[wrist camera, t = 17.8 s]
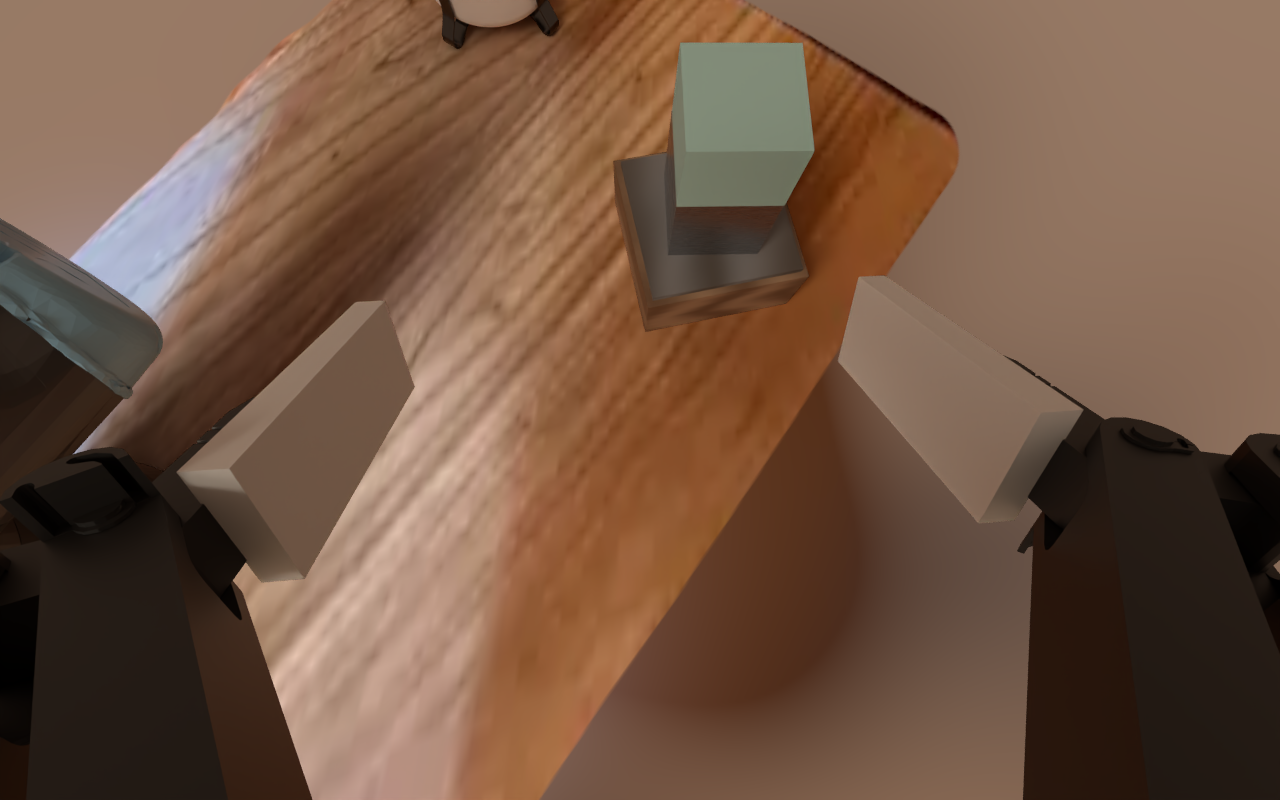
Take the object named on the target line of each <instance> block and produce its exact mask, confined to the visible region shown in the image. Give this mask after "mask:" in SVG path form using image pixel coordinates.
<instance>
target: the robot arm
mask: <svg viewBox="0 0 1280 800" xmlns="http://www.w3.org/2000/svg"><path fill="white" fill-rule="evenodd" d="M162 345H163V338H162V334H161V331H160V329H159V327H158V326H157V324H156V323H155V322H154V321H153V320H152V319H151V318H150V317H149V316H148V315H147V314H146V313H145V312H144V311H143V310H141V309H140V308H139V307H138V306H136V305H135V304H134V303H132V302H131V301H130V300H128V299H127V298H126V297H124V296H123V295H121V294H120V293H119V292H117V291H116V290H114V289H113V288H111V287H110V286H108V285H107V284H105V283H104V282H102V281H101V280H99V279H98V278H96V277H95V276H93V275H92V274H90V273H89V272H87V271H86V270H84V269H83V268H81V267H79V266H78V265H76V264H75V263H73V262H71V261H70V260H68V259H67V258H65V257H63V256H62V255H60V254H58V253H57V252H55V251H54V250H52V249H51V248H49V247H47V246H46V245H44V244H42V243H41V242H39V241H38V240H36V239H34V238H32V237H31V236H29V235H27V234H26V233H24V232H22V231H21V230H19V229H17V228H16V227H14V226H12V225H11V224H9V223H7V222H5V221H4V220H2V219H0V800H312V797H311V794H310V791H309V788H308V785H307V782H306V779H305V776H304V773H303V770H302V767H301V765H300V762H299V759H298V756H297V753H296V750H295V747H294V744H293V741H292V738H291V735H290V732H289V729H288V726H287V723H286V720H285V717H284V714H283V711H282V708H281V705H280V702H279V699H278V696H277V694H276V691H275V688H274V685H273V682H272V679H271V676H270V673H269V670H268V667H267V664H266V661H265V658H264V655H263V652H262V649H261V646H260V643H259V640H258V637H257V634H256V631H255V628H254V626H253V623H252V620H251V617H250V614H249V611H248V608H247V605H246V602H245V599H244V596H243V593H242V591H241V590H240V589H239V588H238V587H237V585H236V584H235V583H234V582H233V579H234V578H235V576H236V575H237V574H238V572H239V571H240V569H241V568H242V567H243V565H244V564H245V562H246V563H247V564H248V566H249V567H250V568H251V569H252V571H253V572H254V573H255V575H256V576H257V577H258V579H259V580H260V581H261V582H274V581H286V580H298V579H305V577H306V576H307V574H308V572H309V570H310V569H311V567H312V565H313V563H314V562H315V560H316V558H317V556H318V555H319V553H320V551H321V549H322V548H323V546H324V544H325V542H326V541H327V539H328V537H329V535H330V534H331V532H332V530H333V528H334V527H335V525H336V523H337V521H338V520H339V518H340V516H341V514H342V513H343V511H344V509H345V507H346V506H347V504H348V502H349V500H350V499H351V497H352V495H353V493H354V492H355V490H356V488H357V486H358V485H359V483H360V481H361V479H362V478H363V476H364V474H365V473H366V471H367V469H368V467H369V466H370V464H371V462H372V460H373V459H374V457H375V455H376V453H377V452H378V450H379V448H380V446H381V445H382V443H383V441H384V439H385V438H386V436H387V434H388V432H389V431H390V429H391V427H392V425H393V424H394V422H395V420H396V418H397V417H398V415H399V413H400V411H401V410H402V408H403V406H404V404H405V403H406V401H407V399H408V397H409V396H410V394H411V392H412V390H413V389H414V384H413V381H412V378H411V375H410V372H409V369H408V366H407V363H406V360H405V358H404V355H403V352H402V349H401V346H400V343H399V340H398V337H397V334H396V331H395V328H394V325H393V322H392V320H391V317H390V314H389V311H388V308H387V305H386V302H385V301H365V302H355V303H354V304H353V305H352V306H351V307H350V308H349V309H348V310H347V311H346V312H344V313H343V314H342V315H341V316H340V317H339V318H338V319H337V320H336V321H335V322H334V323H333V324H332V325H331V326H330V327H329V328H328V329H327V330H326V331H324V332H323V333H322V334H321V335H320V336H319V337H318V338H317V339H316V340H315V341H314V342H313V343H312V344H311V345H310V346H309V347H308V348H307V349H306V350H304V351H303V352H302V353H301V354H300V355H299V356H298V357H297V358H296V359H295V360H294V361H293V362H292V363H291V364H290V365H289V366H288V367H287V368H285V369H284V370H283V371H282V372H281V373H280V374H279V375H278V376H277V377H276V378H275V379H274V380H273V381H272V382H271V383H270V384H269V385H268V386H267V387H265V388H264V389H263V390H262V391H261V392H260V393H259V394H258V395H257V396H256V397H253V398H251V399H250V400H248V401H246V402H245V403H243V404H241V405H239V406H238V407H236V408H234V409H232V410H231V411H229V412H228V413H227V414H226V415H225V416H224V417H222V418H221V419H220V420H219V421H218V422H217V423H216V424H215V425H214V426H213V427H212V431H207V432H206V433H205V434H204V435H203V436H202V437H201V438H200V439H199V440H198V441H197V442H198V443H197V444H193V445H192V446H191V447H190V448H189V449H188V450H187V451H186V452H184V453H183V454H182V455H181V456H180V457H179V458H178V459H177V460H176V461H175V462H174V463H173V464H171V465H170V466H169V467H168V468H167V469H166V470H165V471H164V472H162V471H160V470H158V469H156V468H153V467H151V466H148V465H144V464H139V463H135V462H134V461H133V460H132V458H131V457H130V456H129V455H128V454H127V453H126V452H125V450H124V449H120V448H112V447H107V448H99V449H91V450H87V451H83V452H80V453H76V454H73V453H74V452H75V451H76V450H77V449H78V448H79V447H80V446H81V445H82V443H83V442H84V441H85V440H86V439H87V438H88V437H89V436H90V435H91V434H92V433H93V431H94V430H95V429H96V428H97V427H98V426H99V425H100V424H101V423H102V422H103V420H104V419H105V418H106V417H107V416H108V415H109V414H110V413H111V412H112V411H113V409H114V408H115V407H116V406H117V405H118V404H119V403H120V402H121V401H122V400H123V399H129V398H130V397H131V396H132V393H133V390H132V387H133V386H134V385H135V383H136V382H137V381H138V380H139V379H140V377H141V376H142V375H143V374H144V372H145V371H146V370H147V369H148V367H149V366H150V365H151V364H152V363H153V361H154V360H155V359H156V358H157V356H158V355H159V354H160V351H161V349H162ZM838 362H839V363H840V364H841V365H842V366H843V368H844V369H845V370H846V371H847V372H848V374H849V375H850V376H851V377H852V378H853V379H854V380H855V381H856V383H857V384H858V385H859V386H860V387H861V388H862V390H863V391H864V392H865V393H866V394H867V395H868V397H869V398H870V399H871V400H872V401H873V402H874V403H875V405H876V406H877V407H878V408H879V409H880V410H881V412H882V413H883V414H884V415H885V416H886V417H887V418H888V420H889V421H890V422H891V423H892V424H893V425H894V426H895V428H896V429H897V430H898V431H899V432H900V433H901V435H902V436H903V437H904V438H905V439H906V440H907V441H908V443H909V444H910V445H911V446H912V447H913V448H914V449H915V451H916V452H917V453H918V454H919V455H920V456H921V458H922V459H923V460H924V461H925V462H926V463H927V464H928V466H929V467H930V468H931V469H932V470H933V471H934V473H935V474H936V475H937V476H938V477H939V478H940V479H941V481H942V482H943V483H944V484H945V485H946V486H947V488H948V489H949V490H950V491H951V492H952V493H953V494H954V495H955V497H956V498H957V499H958V500H959V501H960V502H961V504H962V505H963V506H964V507H965V508H966V509H967V511H968V512H969V513H970V514H971V515H972V516H973V517H974V519H975V520H976V521H977V522H978V523H988V522H999V521H1012V520H1015V519H1016V517H1017V516H1018V514H1019V512H1020V511H1021V509H1022V508H1023V506H1024V504H1025V503H1026V501H1027V500H1028V498H1029V499H1030V500H1031V501H1033V502H1034V503H1035V504H1036V505H1037V506H1038V507H1039V508H1040V509H1041V510H1042V513H1041V514H1040V516H1039V517H1038V519H1037V520H1036V522H1035V523H1034V525H1033V526H1032V528H1031V529H1030V531H1029V532H1028V534H1027V535H1026V537H1025V538H1024V540H1023V541H1022V543H1021V544H1020V546H1019V548H1018V550H1017V551H1018V552H1021V553H1025V551H1026V550H1027V548H1028V547H1031V546H1033V562H1032V586H1031V612H1030V638H1029V662H1028V687H1027V689H1028V690H1027V712H1026V713H1027V714H1026V739H1025V763H1024V788H1023V800H1280V574H1279V572H1278V571H1277V570H1276V569H1275V567H1274V566H1273V565H1274V564H1275V563H1277V562H1278V561H1279V560H1280V435H1276V434H1264V433H1260V434H1254V435H1250V436H1248V437H1247V438H1246V440H1245V441H1244V442H1243V443H1242V444H1241V445H1240V446H1239V447H1238V448H1237V450H1236V451H1235V452H1234V453H1233V454H1232V455H1224V454H1216V453H1208V452H1201V451H1199V449H1198V448H1197V447H1196V446H1195V444H1193V443H1192V442H1190V441H1189V440H1188V439H1186V438H1184V437H1183V436H1181V435H1180V434H1177V433H1175V432H1173V431H1171V430H1169V429H1167V428H1164V427H1162V426H1159V425H1155V424H1152V423H1149V422H1146V421H1142V420H1137V419H1131V418H1109V419H1106V420H1104V419H1103V418H1102V417H1100V416H1099V415H1097V414H1096V413H1094V412H1093V411H1091V410H1089V409H1088V408H1087V407H1085V406H1084V405H1082V404H1081V403H1079V402H1077V401H1076V400H1075V399H1073V398H1072V397H1070V396H1069V395H1067V394H1066V393H1064V392H1063V391H1061V390H1059V389H1058V388H1057V387H1055V386H1050V383H1049V382H1047V381H1046V380H1045V379H1043V378H1041V377H1040V376H1035V373H1034V372H1032V371H1031V370H1030V369H1028V368H1027V367H1025V366H1024V365H1022V364H1020V363H1019V362H1017V361H1016V360H1013V359H1011V358H1008V357H1006V356H1004V355H1001V354H1000V353H999V352H997V351H996V350H994V349H992V348H991V347H990V346H988V345H987V344H985V343H984V342H982V341H981V340H980V339H978V338H977V337H975V336H974V335H972V334H971V333H969V332H968V331H966V330H965V329H963V328H962V327H960V326H959V325H957V324H956V323H954V322H953V321H951V320H950V319H948V318H946V317H945V316H944V315H942V314H941V313H939V312H938V311H936V310H935V309H934V308H932V307H930V306H929V305H928V304H926V303H924V302H923V301H922V300H920V299H919V298H917V297H916V296H914V295H913V294H911V293H910V292H908V291H907V290H905V289H904V288H902V287H901V286H900V285H898V284H897V283H895V282H894V281H892V280H891V279H889V278H888V277H886V276H866V277H859V278H858V282H857V286H856V290H855V294H854V298H853V302H852V306H851V310H850V314H849V318H848V322H847V326H846V330H845V334H844V338H843V343H842V347H841V351H840V355H839V359H838ZM72 454H73V455H72Z"/></svg>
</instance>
